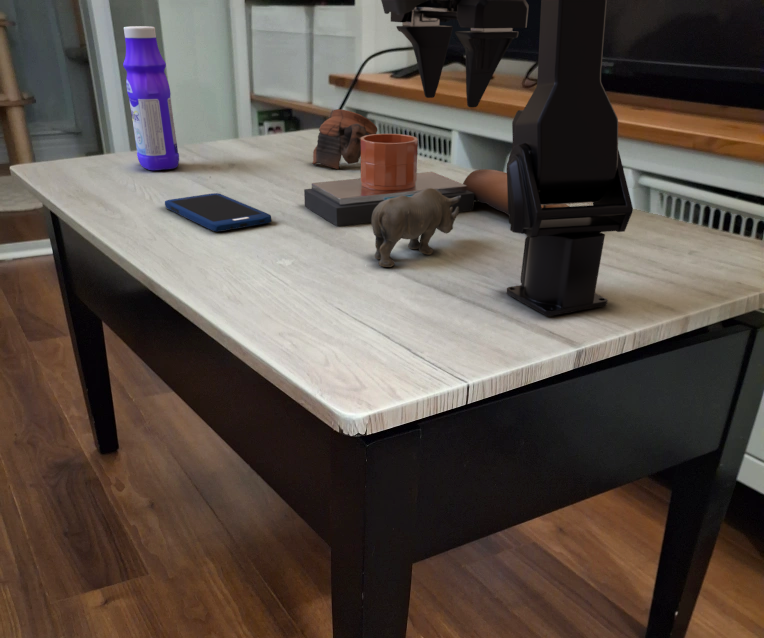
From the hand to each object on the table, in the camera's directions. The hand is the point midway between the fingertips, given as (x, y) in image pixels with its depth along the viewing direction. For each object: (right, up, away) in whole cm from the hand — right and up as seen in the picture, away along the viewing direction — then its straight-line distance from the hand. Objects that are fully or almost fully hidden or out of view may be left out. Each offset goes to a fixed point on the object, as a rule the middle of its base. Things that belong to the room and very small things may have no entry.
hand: (450, 102), depth 85 cm
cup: (-7, -7, +6) cm, 11 cm away
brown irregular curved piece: (-13, +6, +29) cm, 32 cm away
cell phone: (-27, -11, +4) cm, 30 cm away
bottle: (-40, +4, +26) cm, 48 cm away
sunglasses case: (+9, -11, +5) cm, 15 cm away
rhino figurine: (-4, -19, -6) cm, 20 cm away
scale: (-7, -9, +8) cm, 14 cm away
